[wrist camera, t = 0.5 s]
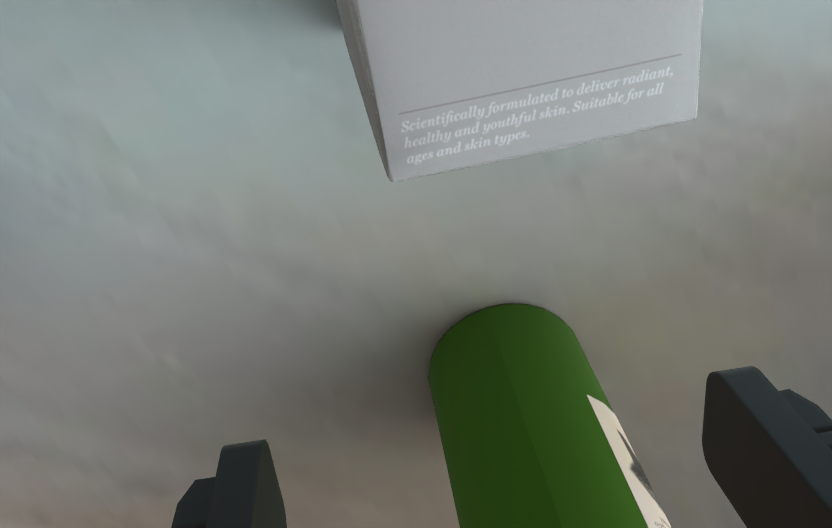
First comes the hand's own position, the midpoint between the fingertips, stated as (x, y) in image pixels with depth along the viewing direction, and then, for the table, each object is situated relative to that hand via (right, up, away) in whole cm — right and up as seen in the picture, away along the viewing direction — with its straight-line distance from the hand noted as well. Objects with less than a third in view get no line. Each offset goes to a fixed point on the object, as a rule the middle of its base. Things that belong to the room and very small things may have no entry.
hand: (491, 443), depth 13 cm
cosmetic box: (-1, +17, +16) cm, 23 cm away
